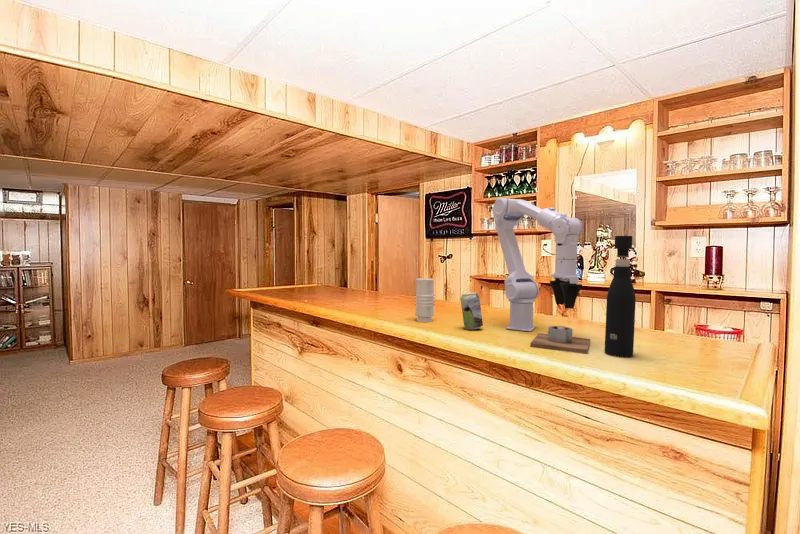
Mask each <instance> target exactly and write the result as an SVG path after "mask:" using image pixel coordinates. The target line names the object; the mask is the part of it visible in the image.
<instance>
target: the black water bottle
mask: <svg viewBox="0 0 800 534" xmlns="http://www.w3.org/2000/svg"><path fill="white" fill-rule="evenodd" d="M614 249H615V250H617V254H616V257H617V258H615V260H614V262H615V263H614V264H615V266H613V277H612V279H611V283H610V284H609V287H608V290H607V295H606V307H605V309H606V310H605V311H606V312H605V331H604V333H605V335H604V336H605V337H604V354H606V355H608V356H611V357H616V358H617V357H618V358H632V357H634V346H635V345H634V344H635V323H636V322H635V321H636V301H637V300H636V298H637V297H636V293H635V287H634V285H633V281H632V278H631V274H632V273H631V272H632V270H631V269H632V267H631V261H630V259H626V258H629V257H630V256H629V252H630V250H632V249H633V235H615V236H614ZM619 258H620V259H619Z"/></svg>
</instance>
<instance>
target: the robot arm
mask: <svg viewBox="0 0 800 534" xmlns="http://www.w3.org/2000/svg"><path fill="white" fill-rule="evenodd" d="M491 209H492V210H491V211H492V214H493V218H494V222H495V231H496V233H497V236H498V239H499V245H500V247H501V250H502V255H503V258H504V261H505V265H506V269H507V272H508V276H507V277H506V278H505V279H504V282H503V283H504V285H505V286H504V288H505V289H504V293H505V296H506V298H507V299H508V302H509V325H508V326H506V329H507V330H515V331H523V332H532V331H533V330H534V329H535V328H536V327H537V325H536V324H534V303H535V301H536V299H537V298H538V297H539V294H540V289H539V285H538V283H537V282H535V279H534V276H533V275H532V274H531V273H529V272H527V271H526V267H525V265H524V260H523V257H522V253H521V250H520V248H519V243H518V241H517V237H516V234H515V230H514V229H515V227H516V226H517V225H519V222H520V221H521V220H522V218H523V217H524V215H525V216H528V217H530V218H533V219H534V220H536V223H537V225H539V226H540V227H542V228H544V229H546V230H548V231H551V232H552V235H553V236H554V242H555V259H554V263H555V265H554V272H553V273H550V277H551V278H553V279H554V280H549V284H550V285H551V289H552V290H553V291H552V292H553V295H554V301H555V304H556V305H564V308H565V309H574V307H575V304H576V300H577V298H578V295H579V292H580V291H581V290H582V288H583V284H581V283H579V276H578V274H577V265H578V242H579V241H578V239H579V238H578V237H579V236H580V235H581V234H582V232H583V222H582V221H581V220H580V219H579V218H577V217H575V216H574V217H568V214H567V213H563V212H562V213H561V212H558V211H556V208H555V207H551V206H549V207H547V208H546V207H545V208H543V209H542V208H541V207H538V206H536V205H534V204H532V203H531V202H529V201H528V200H524V199H522V198H518V199H517V198H516V199H515V198H505V197H497V199H496V200H495V202H494V204H493V206H492V208H491Z"/></svg>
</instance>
